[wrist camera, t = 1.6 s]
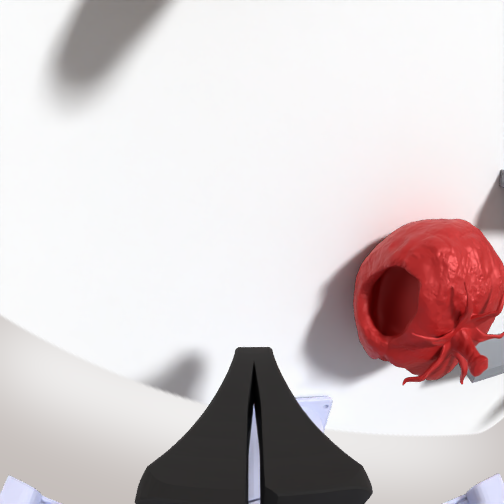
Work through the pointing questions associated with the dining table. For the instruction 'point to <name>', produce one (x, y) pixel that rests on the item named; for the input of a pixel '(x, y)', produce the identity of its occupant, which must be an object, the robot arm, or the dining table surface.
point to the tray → (491, 347)
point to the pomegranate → (430, 298)
